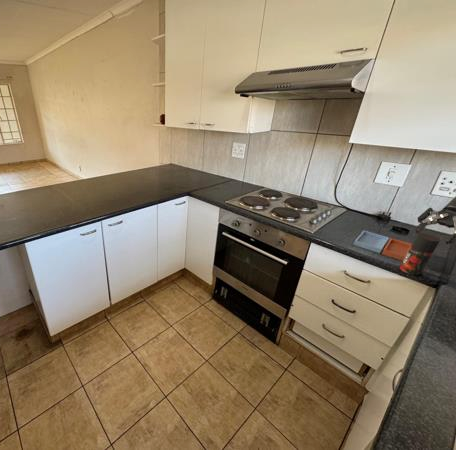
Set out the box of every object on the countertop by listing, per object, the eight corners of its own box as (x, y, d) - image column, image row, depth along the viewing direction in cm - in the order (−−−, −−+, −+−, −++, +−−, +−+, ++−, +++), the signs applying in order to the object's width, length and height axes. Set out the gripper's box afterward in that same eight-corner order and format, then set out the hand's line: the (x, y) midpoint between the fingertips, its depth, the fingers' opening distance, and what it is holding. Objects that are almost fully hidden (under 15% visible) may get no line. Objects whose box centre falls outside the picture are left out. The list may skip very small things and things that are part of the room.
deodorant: (424, 275, 93) (445, 241, 86) (408, 275, 93) (428, 241, 86) (410, 265, 98) (428, 233, 92) (395, 265, 99) (412, 233, 92)
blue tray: (387, 241, 115) (389, 237, 114) (379, 253, 107) (381, 249, 106) (362, 234, 122) (363, 230, 121) (353, 244, 113) (354, 240, 112)
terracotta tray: (417, 250, 108) (419, 246, 107) (411, 263, 100) (414, 259, 99) (389, 241, 115) (390, 238, 114) (381, 253, 106) (383, 249, 105)
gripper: (439, 191, 92) (406, 224, 94) (497, 205, 80) (458, 241, 82) (440, 202, 96) (409, 233, 98) (495, 217, 84) (458, 252, 86)
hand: (431, 237), depth 90 cm, fingers open, 8 cm apart
